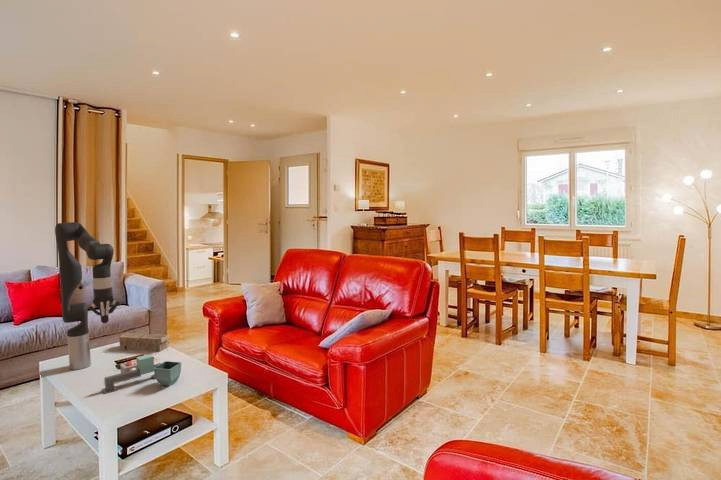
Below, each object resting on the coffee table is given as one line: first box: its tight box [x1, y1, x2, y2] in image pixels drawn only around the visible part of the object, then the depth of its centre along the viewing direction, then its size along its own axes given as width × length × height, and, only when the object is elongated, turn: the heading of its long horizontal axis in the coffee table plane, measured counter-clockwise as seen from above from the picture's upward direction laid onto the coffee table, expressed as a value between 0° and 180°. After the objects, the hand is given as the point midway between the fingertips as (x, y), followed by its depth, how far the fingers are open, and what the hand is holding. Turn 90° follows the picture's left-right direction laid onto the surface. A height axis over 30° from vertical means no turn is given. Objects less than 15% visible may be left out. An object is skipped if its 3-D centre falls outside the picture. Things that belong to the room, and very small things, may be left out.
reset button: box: [126, 360, 135, 366], centre depth 201 cm, size 3×3×4 cm
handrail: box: [101, 362, 161, 395], centre depth 194 cm, size 5×26×6 cm, turn 134°
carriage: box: [136, 353, 155, 375], centre depth 197 cm, size 5×6×7 cm
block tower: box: [118, 332, 171, 353], centre depth 241 cm, size 8×8×29 cm
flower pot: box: [154, 360, 182, 387], centre depth 192 cm, size 9×9×9 cm
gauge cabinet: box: [119, 360, 142, 381], centre depth 201 cm, size 7×7×6 cm
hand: (105, 322), depth 194 cm, fingers closed
